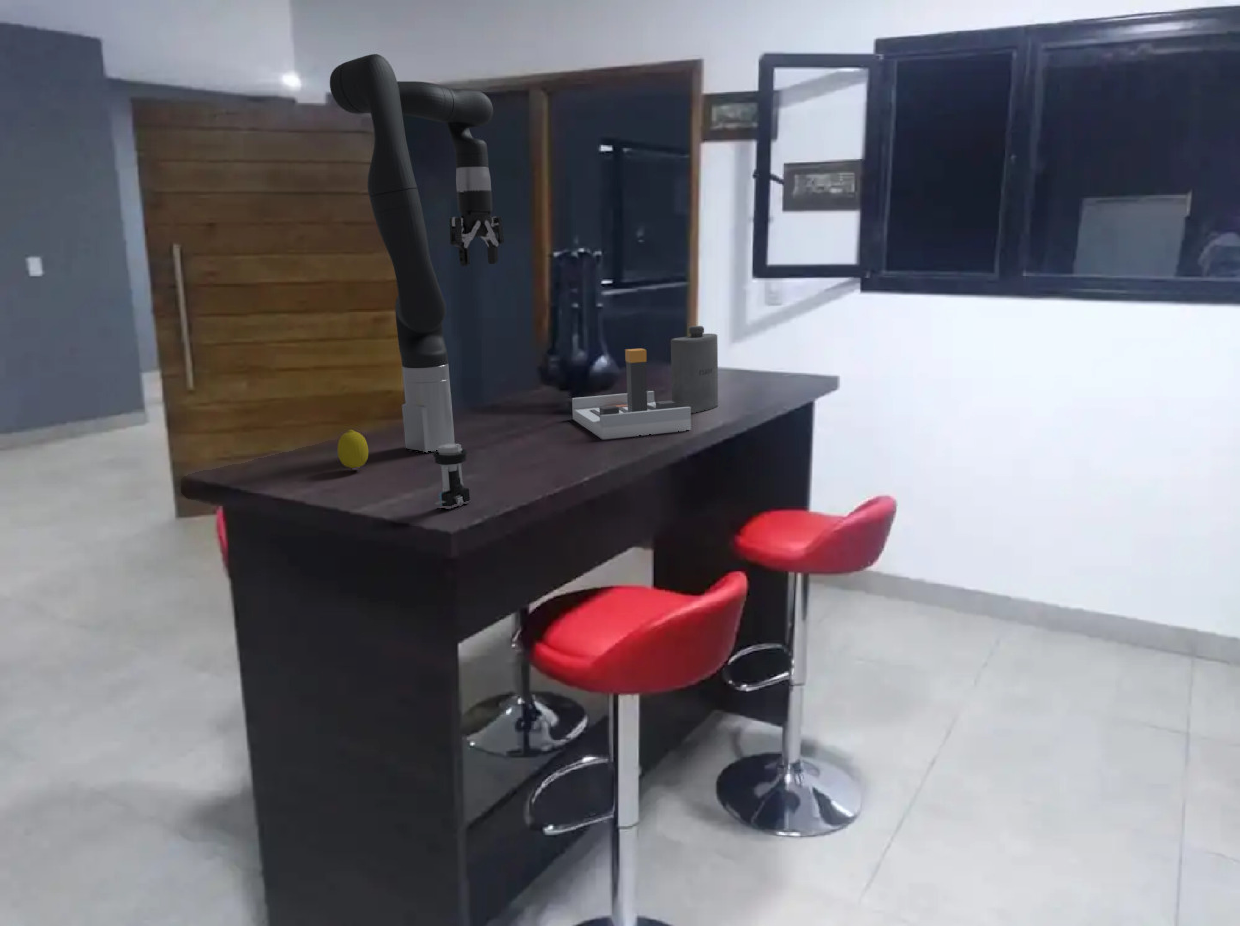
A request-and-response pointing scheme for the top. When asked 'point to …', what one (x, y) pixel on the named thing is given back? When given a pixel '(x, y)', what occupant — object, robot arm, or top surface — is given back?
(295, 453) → the top surface
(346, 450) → the lemon
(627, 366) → the handle
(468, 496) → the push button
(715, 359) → the flask
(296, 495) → the top surface
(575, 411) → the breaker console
